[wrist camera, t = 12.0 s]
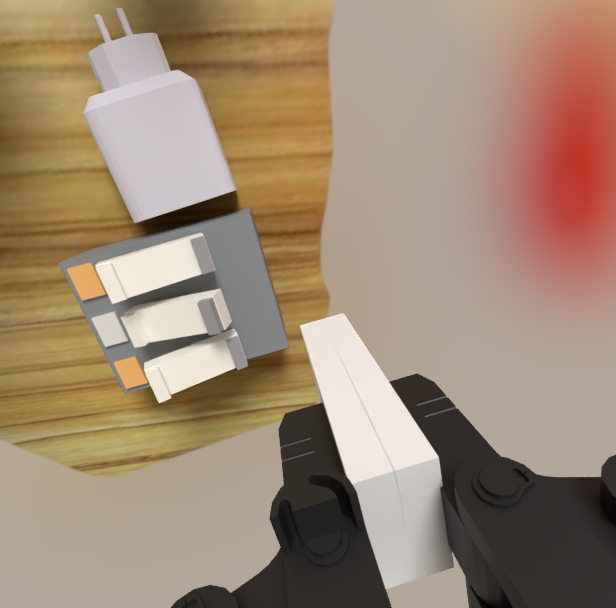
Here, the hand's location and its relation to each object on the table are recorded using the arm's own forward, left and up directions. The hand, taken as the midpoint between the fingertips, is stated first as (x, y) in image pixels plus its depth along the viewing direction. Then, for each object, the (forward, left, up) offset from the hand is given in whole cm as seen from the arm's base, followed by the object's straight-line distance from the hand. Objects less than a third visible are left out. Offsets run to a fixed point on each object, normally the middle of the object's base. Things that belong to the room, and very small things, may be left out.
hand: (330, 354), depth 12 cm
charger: (-8, +13, -27) cm, 31 cm away
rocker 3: (-10, -7, -18) cm, 22 cm away
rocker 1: (-10, +2, -18) cm, 21 cm away
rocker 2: (-10, -3, -18) cm, 21 cm away
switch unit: (-10, -3, -26) cm, 28 cm away
